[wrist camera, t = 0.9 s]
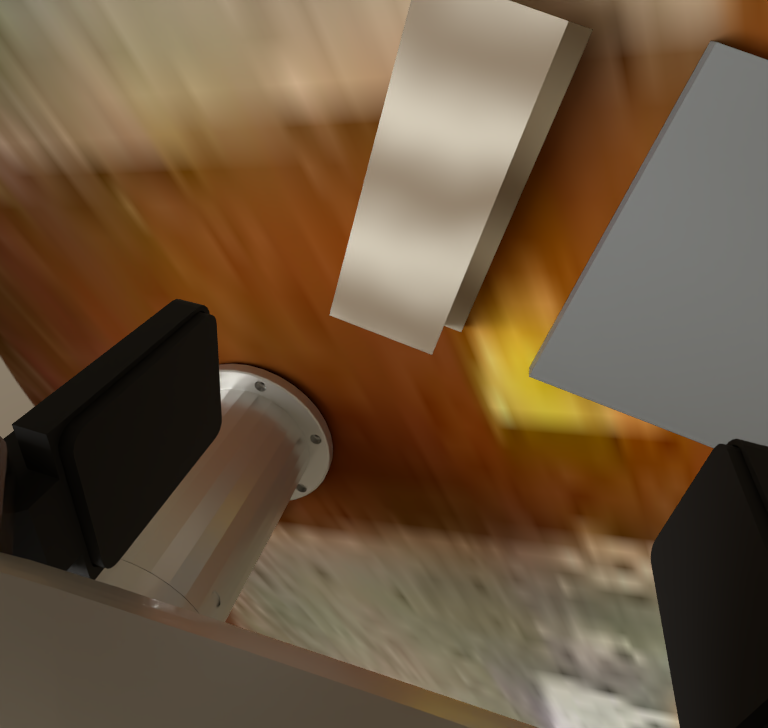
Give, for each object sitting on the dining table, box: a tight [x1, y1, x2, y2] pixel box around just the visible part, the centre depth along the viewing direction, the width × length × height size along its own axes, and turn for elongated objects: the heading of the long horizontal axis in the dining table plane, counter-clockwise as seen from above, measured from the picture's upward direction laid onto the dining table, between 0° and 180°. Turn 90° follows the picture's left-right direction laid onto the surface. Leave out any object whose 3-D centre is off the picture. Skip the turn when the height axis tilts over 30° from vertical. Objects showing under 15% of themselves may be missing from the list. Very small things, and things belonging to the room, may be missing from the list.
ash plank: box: [330, 0, 593, 355], centre depth 27 cm, size 16×7×4 cm, turn 164°
